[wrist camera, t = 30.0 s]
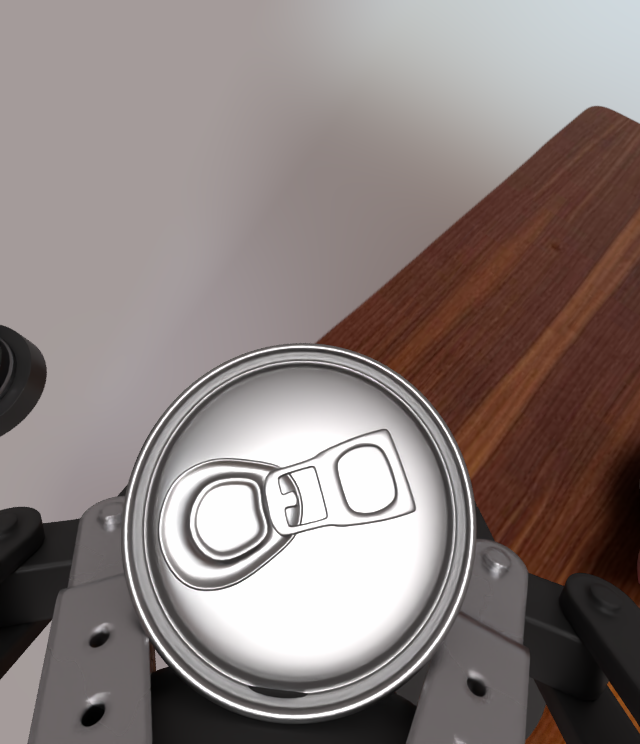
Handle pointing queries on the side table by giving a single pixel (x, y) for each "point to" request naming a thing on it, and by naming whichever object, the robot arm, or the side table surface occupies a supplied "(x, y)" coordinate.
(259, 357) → the can
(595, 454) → the side table surface
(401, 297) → the side table surface
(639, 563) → the bowl
